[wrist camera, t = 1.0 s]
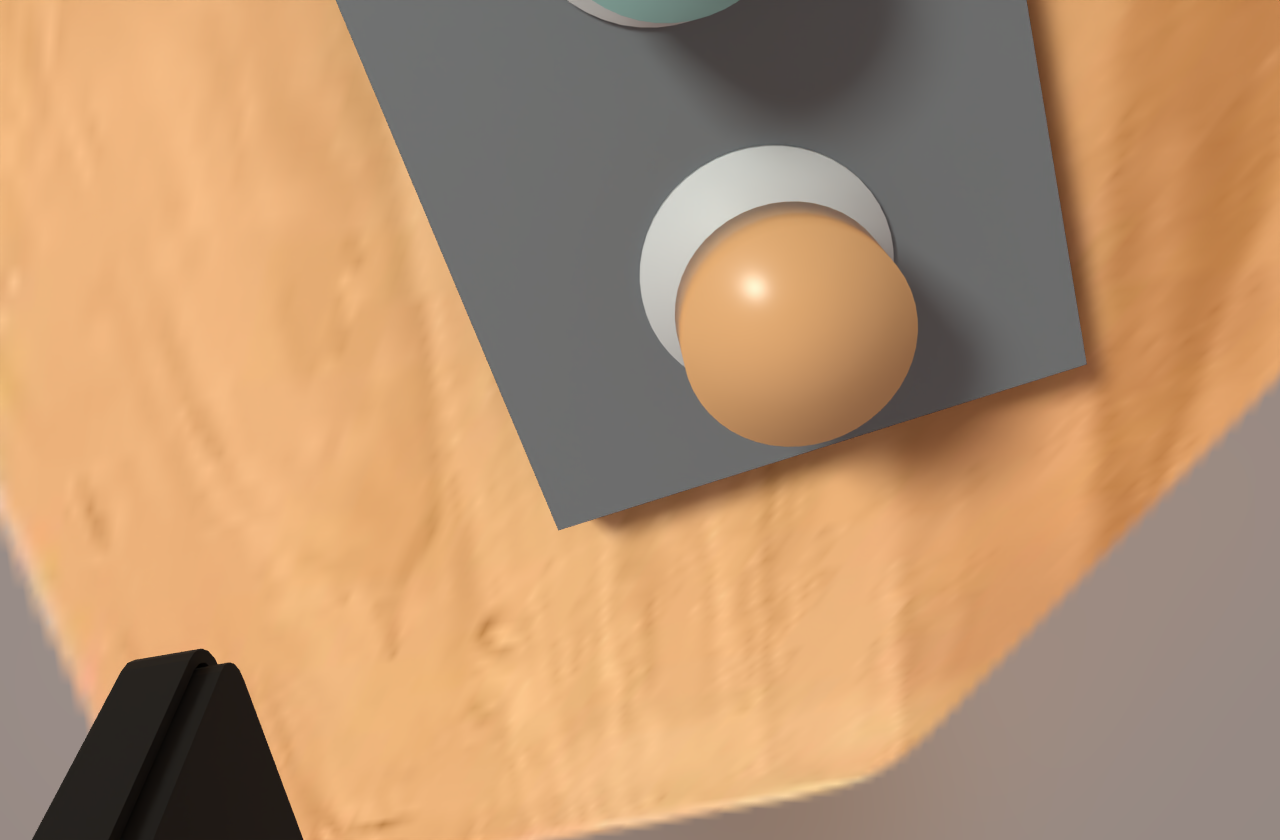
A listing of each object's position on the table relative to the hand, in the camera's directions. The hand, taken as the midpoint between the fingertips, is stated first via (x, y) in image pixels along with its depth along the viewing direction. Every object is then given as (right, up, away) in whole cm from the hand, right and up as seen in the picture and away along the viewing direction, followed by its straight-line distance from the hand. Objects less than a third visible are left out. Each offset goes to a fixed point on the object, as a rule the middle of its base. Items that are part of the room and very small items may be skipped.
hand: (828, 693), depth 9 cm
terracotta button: (+2, +5, +17) cm, 17 cm away
